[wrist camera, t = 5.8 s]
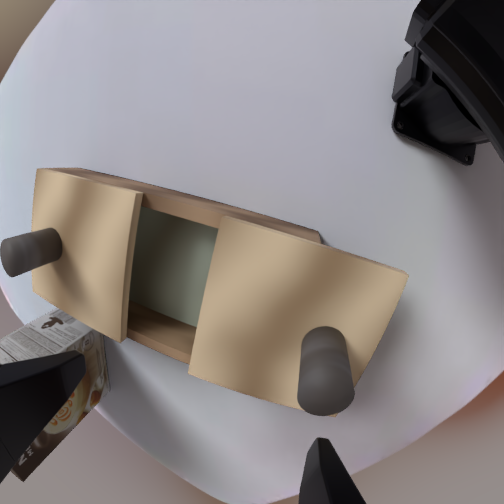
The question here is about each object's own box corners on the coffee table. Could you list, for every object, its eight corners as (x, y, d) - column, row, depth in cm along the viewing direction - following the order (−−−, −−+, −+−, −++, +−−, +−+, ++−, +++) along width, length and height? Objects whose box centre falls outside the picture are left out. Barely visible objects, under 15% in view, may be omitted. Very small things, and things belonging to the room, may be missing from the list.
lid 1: (143, 192, 15) (84, 198, 10) (126, 337, 18) (83, 375, 13) (44, 168, 16) (-8, 171, 12) (39, 288, 19) (-4, 308, 14)
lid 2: (404, 271, 14) (442, 309, 9) (334, 409, 16) (337, 467, 11) (226, 215, 15) (187, 230, 10) (192, 366, 17) (159, 416, 13)
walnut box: (318, 231, 18) (321, 243, 14) (274, 357, 21) (266, 391, 17) (78, 167, 20) (44, 168, 16) (68, 274, 23) (39, 287, 19)
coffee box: (113, 391, 26) (26, 486, 10) (71, 370, 27) (-16, 445, 11) (103, 321, 23) (-25, 417, 8) (59, 302, 24) (-59, 370, 9)
